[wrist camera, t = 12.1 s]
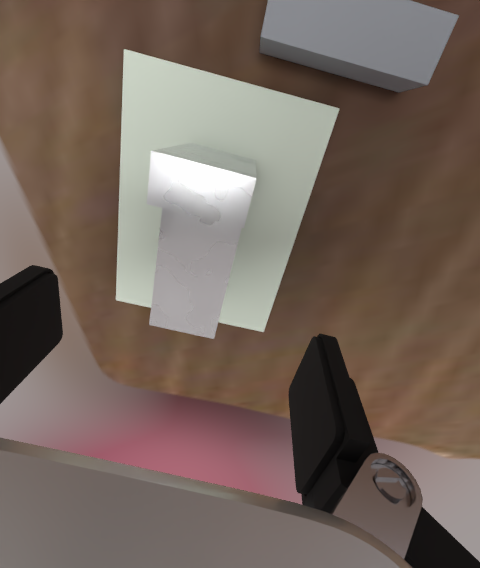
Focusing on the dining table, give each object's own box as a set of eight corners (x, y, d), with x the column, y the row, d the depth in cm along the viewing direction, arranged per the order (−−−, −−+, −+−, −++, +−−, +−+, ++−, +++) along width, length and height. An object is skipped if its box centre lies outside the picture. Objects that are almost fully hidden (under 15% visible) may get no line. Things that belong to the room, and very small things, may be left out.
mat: (337, 109, 17) (339, 108, 16) (263, 328, 24) (263, 332, 24) (127, 51, 16) (123, 48, 15) (118, 296, 23) (115, 300, 23)
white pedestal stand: (255, 160, 18) (256, 178, 11) (221, 297, 22) (208, 368, 16) (190, 142, 17) (151, 150, 11) (170, 285, 22) (133, 352, 15)
